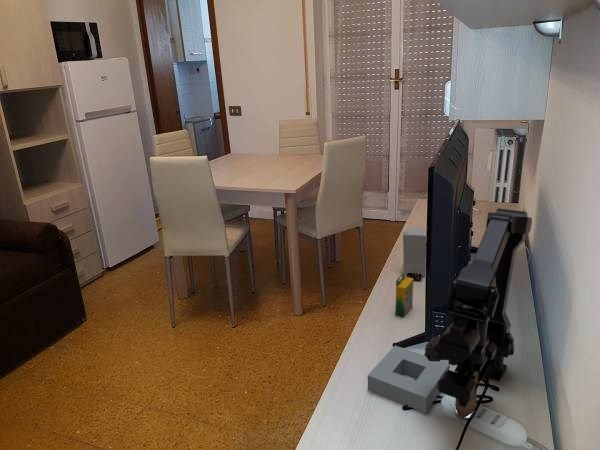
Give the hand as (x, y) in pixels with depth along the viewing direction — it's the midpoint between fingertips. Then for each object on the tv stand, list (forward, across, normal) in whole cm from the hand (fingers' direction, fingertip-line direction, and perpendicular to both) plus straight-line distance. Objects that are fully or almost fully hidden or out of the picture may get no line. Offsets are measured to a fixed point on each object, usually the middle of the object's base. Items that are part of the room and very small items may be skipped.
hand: (465, 400), depth 97 cm
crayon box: (+4, -33, -29) cm, 44 cm away
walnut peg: (+3, 0, 0) cm, 3 cm away
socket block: (+4, -3, -14) cm, 15 cm away
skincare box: (+4, -60, -37) cm, 71 cm away
